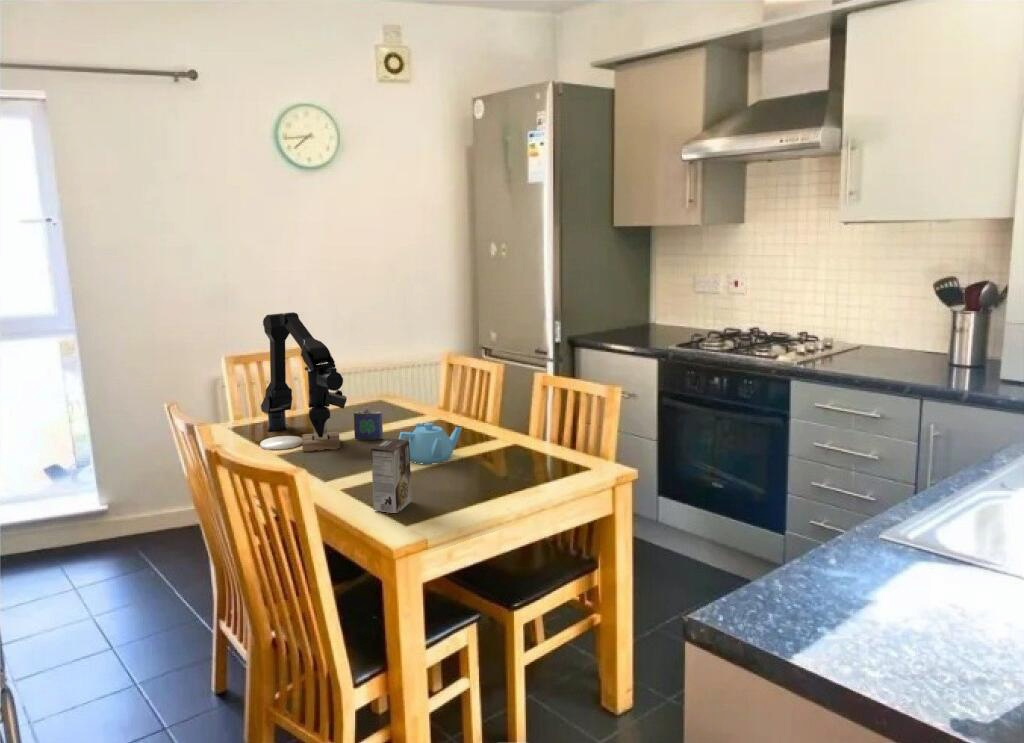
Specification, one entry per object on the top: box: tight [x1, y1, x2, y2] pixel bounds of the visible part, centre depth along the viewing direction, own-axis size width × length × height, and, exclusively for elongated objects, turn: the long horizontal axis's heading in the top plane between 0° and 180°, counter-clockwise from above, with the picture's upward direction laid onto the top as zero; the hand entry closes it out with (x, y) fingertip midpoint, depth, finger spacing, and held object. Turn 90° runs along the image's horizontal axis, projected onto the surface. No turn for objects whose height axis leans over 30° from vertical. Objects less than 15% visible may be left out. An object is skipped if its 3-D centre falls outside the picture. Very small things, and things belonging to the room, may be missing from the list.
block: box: [313, 421, 328, 440], centre depth 241 cm, size 4×4×9 cm
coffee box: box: [370, 437, 413, 513], centre depth 188 cm, size 9×6×16 cm
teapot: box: [398, 422, 463, 465], centre depth 227 cm, size 15×15×11 cm
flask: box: [353, 406, 384, 441], centre depth 248 cm, size 9×3×11 cm, turn 88°
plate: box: [259, 435, 302, 451], centre depth 244 cm, size 13×13×1 cm
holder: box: [301, 431, 341, 452], centre depth 242 cm, size 11×11×2 cm
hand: (320, 434), depth 242 cm, fingers open, 6 cm apart
